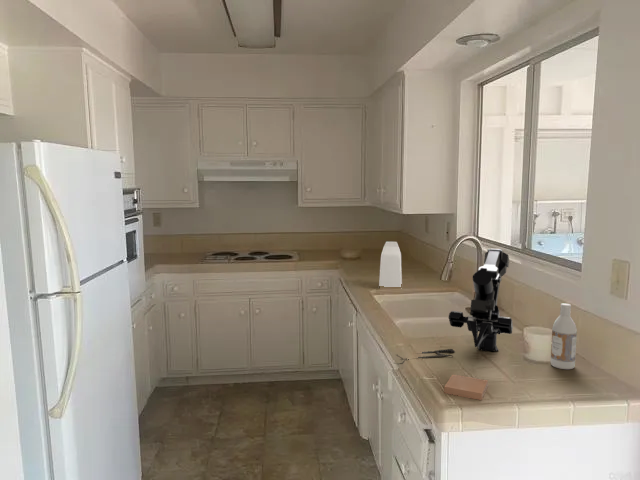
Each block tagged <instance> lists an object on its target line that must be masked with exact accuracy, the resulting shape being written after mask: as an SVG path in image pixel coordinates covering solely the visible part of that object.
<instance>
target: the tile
mask: <svg viewBox="0 0 640 480" xmlns="http://www.w3.org/2000/svg"><path fill="white" fill-rule="evenodd" d="M488 388H489V379H482V378H476V377H470V376H465V375H464V376H463V375H459V374H451V376H450V377H449V379H448V381H447V382H446V384H445V385H444V394H447V393H448V395H452V394H453V395H452V396H457V395H458V396H457V397H463V398H468V399H474V400H479V401H483V399H484V397H485V395H486V392H487V391H488Z"/></svg>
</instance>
